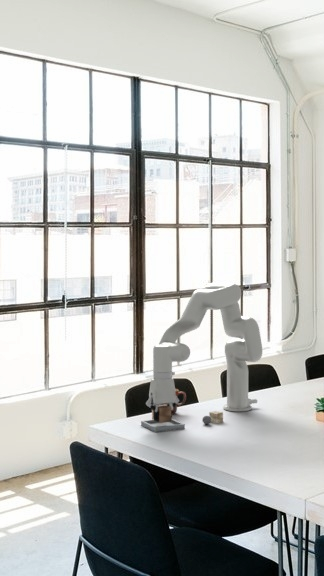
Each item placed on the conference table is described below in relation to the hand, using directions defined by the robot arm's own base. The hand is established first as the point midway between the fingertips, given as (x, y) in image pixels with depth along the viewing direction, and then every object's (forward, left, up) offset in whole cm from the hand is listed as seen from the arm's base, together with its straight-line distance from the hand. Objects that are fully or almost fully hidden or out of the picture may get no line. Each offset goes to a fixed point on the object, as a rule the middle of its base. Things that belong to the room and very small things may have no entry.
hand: (162, 419), depth 290 cm
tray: (0, 0, -3) cm, 3 cm away
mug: (-15, -20, -3) cm, 25 cm away
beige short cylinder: (-4, -11, -3) cm, 12 cm away
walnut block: (0, 0, 0) cm, 0 cm away
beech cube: (-24, +2, -3) cm, 24 cm away
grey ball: (-18, +5, -1) cm, 19 cm away
